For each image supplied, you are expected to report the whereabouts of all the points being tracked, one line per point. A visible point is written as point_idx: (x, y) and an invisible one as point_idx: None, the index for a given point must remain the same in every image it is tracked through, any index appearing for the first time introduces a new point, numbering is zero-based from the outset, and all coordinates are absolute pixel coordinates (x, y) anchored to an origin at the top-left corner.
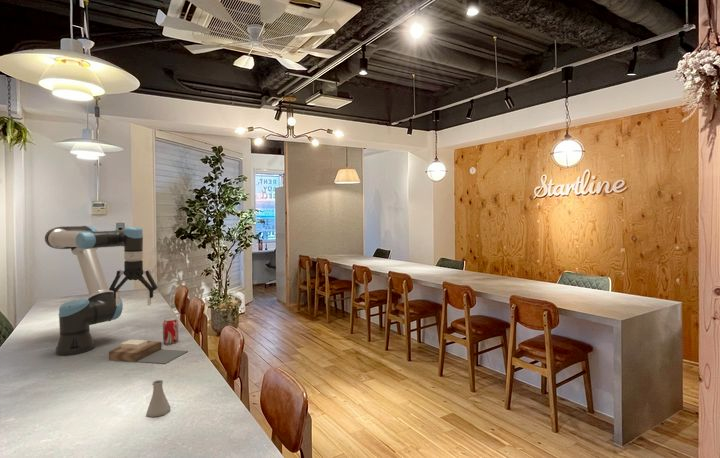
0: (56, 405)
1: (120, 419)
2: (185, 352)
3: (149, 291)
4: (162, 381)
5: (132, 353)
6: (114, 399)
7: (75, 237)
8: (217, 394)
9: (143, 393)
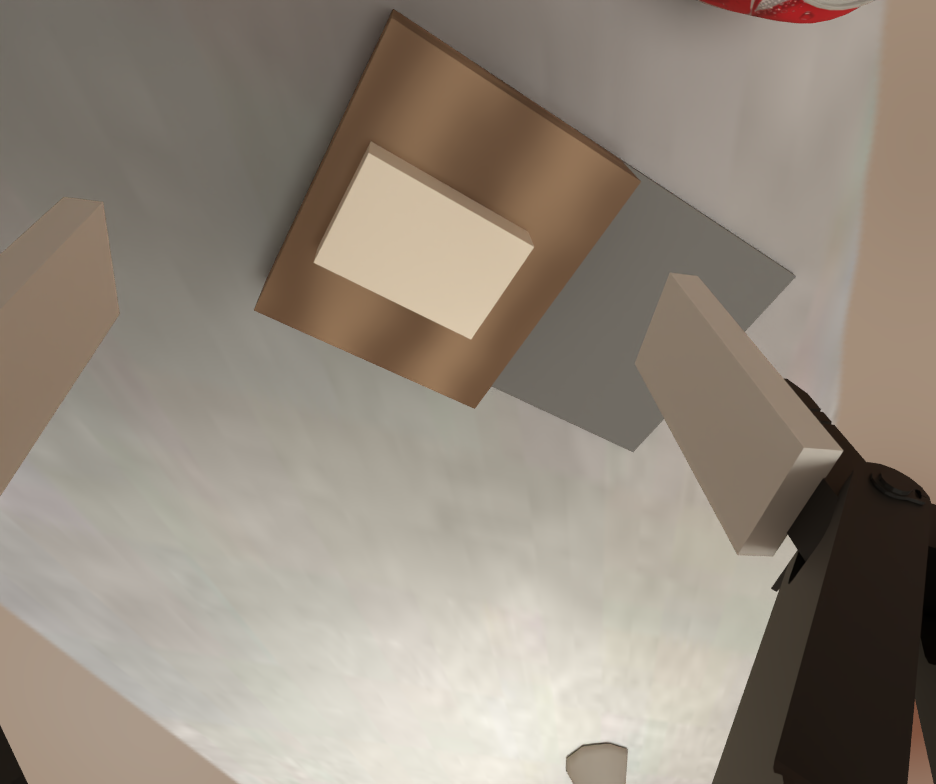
0: (277, 692)
1: (503, 769)
2: (773, 299)
3: (777, 585)
4: None
5: (446, 393)
6: (459, 690)
7: None
8: None
9: (547, 675)
